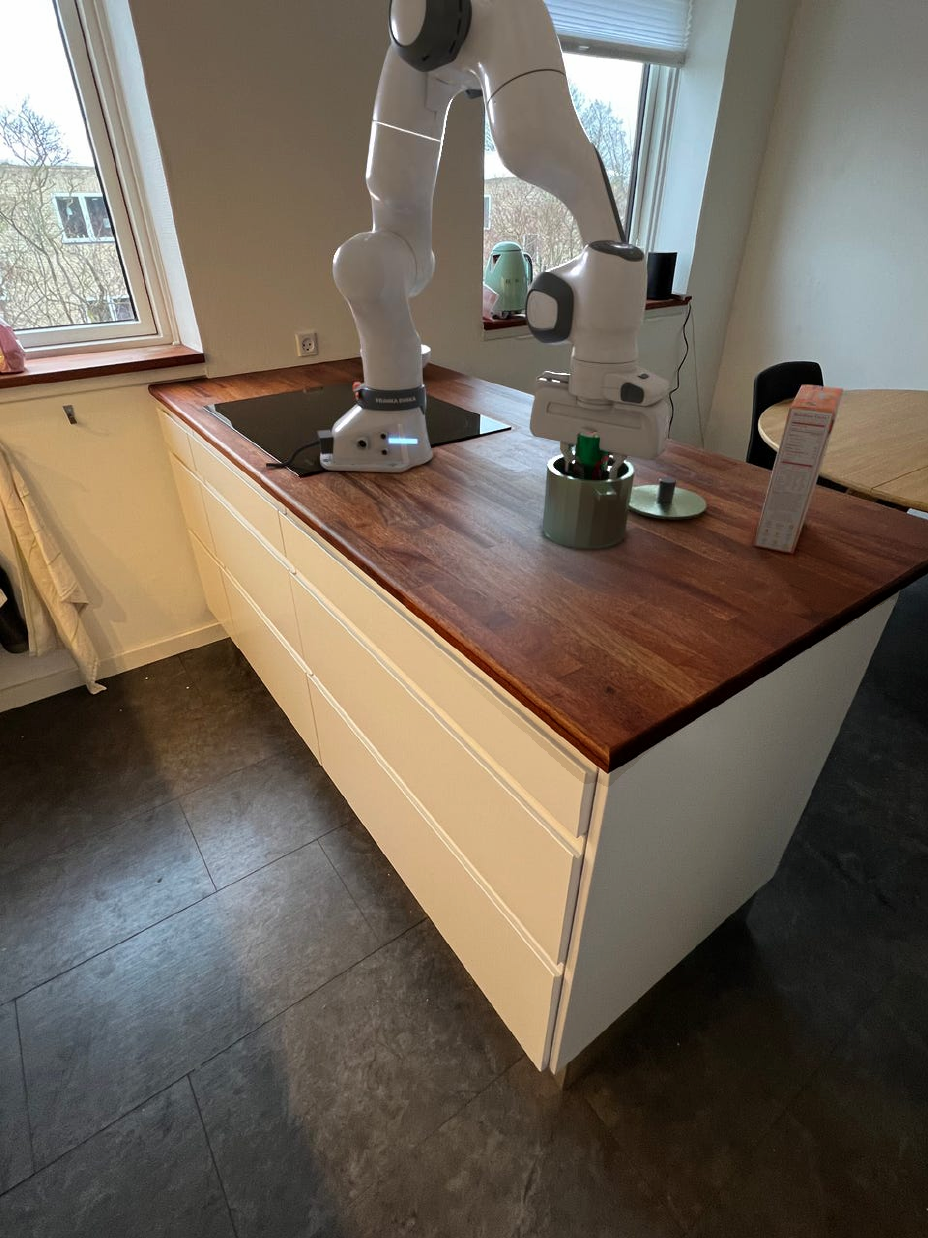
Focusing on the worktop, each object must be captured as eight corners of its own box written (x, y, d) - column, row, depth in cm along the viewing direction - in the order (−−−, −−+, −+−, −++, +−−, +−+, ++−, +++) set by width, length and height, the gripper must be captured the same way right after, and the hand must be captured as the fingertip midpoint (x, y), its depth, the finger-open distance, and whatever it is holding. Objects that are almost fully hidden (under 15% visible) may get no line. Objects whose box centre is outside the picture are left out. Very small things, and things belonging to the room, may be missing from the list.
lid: (638, 525, 101) (642, 497, 98) (611, 492, 112) (615, 467, 110) (719, 521, 102) (725, 493, 100) (685, 489, 114) (690, 464, 111)
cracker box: (764, 513, 105) (801, 382, 93) (803, 521, 102) (847, 387, 91) (749, 546, 95) (788, 403, 83) (792, 556, 92) (839, 410, 81)
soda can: (567, 498, 99) (573, 421, 92) (598, 497, 99) (607, 419, 92) (574, 511, 94) (582, 431, 88) (607, 510, 95) (617, 429, 88)
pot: (557, 560, 91) (563, 491, 85) (532, 509, 106) (536, 448, 100) (641, 555, 92) (654, 487, 86) (605, 506, 107) (613, 445, 101)
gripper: (524, 373, 89) (519, 468, 97) (664, 394, 80) (646, 498, 87) (546, 365, 94) (540, 456, 101) (681, 384, 84) (663, 484, 91)
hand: (590, 476), depth 94 cm, fingers closed on soda can, 5 cm apart
